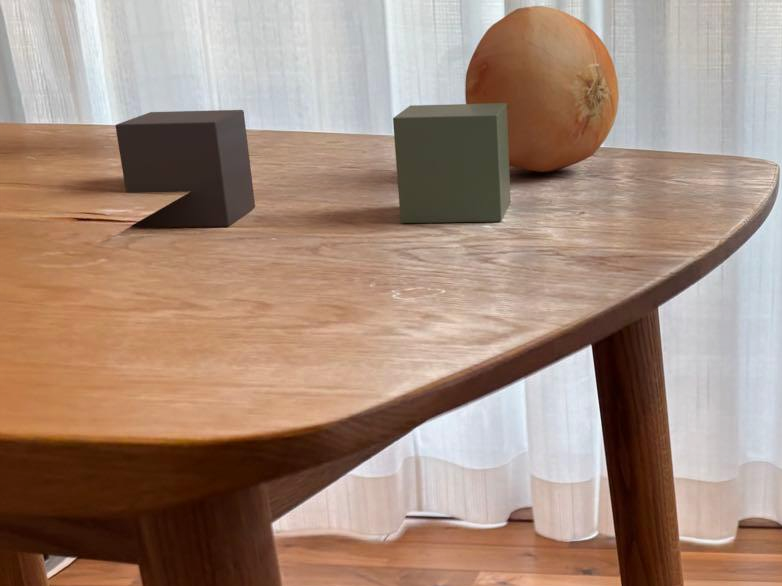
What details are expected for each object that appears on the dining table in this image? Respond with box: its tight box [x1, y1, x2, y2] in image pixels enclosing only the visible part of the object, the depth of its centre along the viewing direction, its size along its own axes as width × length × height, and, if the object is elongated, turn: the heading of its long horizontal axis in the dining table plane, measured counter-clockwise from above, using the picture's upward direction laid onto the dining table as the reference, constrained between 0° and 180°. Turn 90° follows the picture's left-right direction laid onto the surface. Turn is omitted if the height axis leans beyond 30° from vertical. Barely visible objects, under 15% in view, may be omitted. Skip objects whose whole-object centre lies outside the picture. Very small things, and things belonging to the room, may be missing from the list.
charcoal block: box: [115, 109, 256, 229], centre depth 73 cm, size 6×6×6 cm
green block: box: [392, 103, 512, 224], centre depth 72 cm, size 6×6×6 cm
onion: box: [464, 5, 620, 173], centre depth 82 cm, size 10×10×10 cm
